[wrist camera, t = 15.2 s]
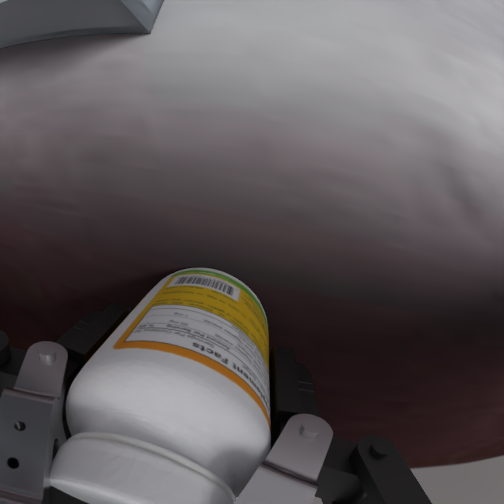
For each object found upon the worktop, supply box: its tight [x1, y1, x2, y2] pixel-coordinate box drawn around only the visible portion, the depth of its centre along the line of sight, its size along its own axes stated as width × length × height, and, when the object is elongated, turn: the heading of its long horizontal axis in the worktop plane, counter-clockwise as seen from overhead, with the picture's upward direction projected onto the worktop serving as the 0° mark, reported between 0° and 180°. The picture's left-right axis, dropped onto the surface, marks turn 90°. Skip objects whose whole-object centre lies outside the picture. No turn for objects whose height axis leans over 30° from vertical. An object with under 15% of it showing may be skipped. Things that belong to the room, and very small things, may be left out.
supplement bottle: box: [50, 268, 271, 504], centre depth 8 cm, size 5×5×10 cm
